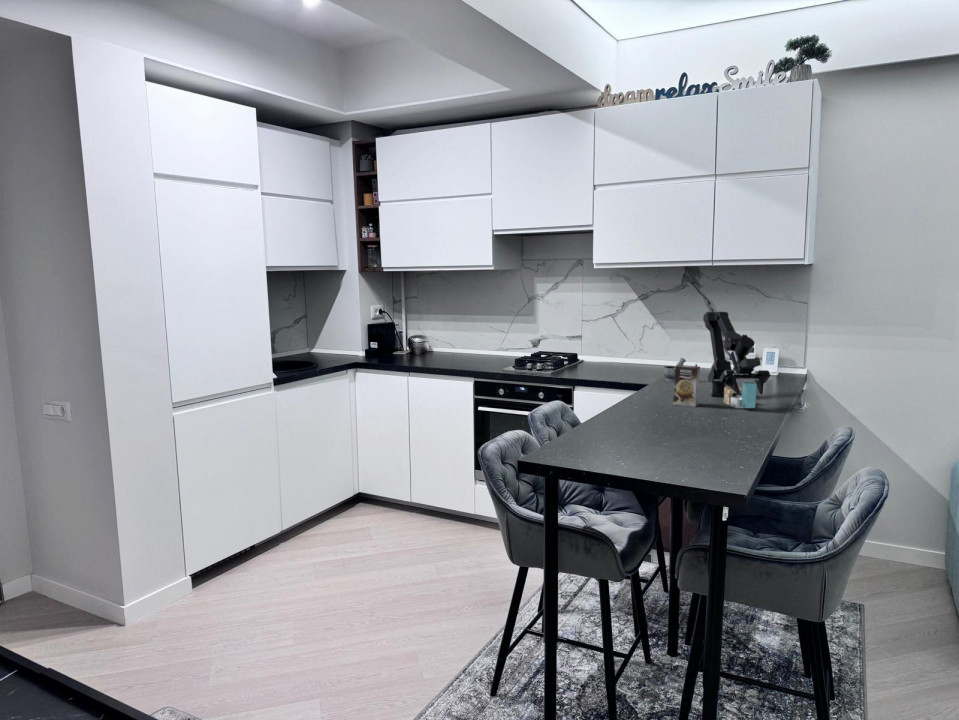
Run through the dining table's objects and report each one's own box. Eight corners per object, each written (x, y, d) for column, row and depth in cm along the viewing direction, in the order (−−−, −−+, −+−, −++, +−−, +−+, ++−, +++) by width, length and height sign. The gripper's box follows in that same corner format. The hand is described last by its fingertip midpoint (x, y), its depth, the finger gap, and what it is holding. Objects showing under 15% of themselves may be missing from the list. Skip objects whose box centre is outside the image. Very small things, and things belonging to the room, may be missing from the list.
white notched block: (730, 405, 276) (731, 397, 275) (745, 405, 276) (746, 397, 276) (736, 408, 270) (737, 399, 269) (752, 408, 270) (752, 400, 270)
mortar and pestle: (659, 381, 333) (660, 357, 331) (664, 378, 341) (665, 355, 340) (682, 383, 328) (684, 359, 326) (686, 380, 336) (687, 357, 334)
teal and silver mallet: (730, 400, 279) (732, 377, 277) (739, 400, 279) (741, 377, 277) (745, 407, 265) (746, 383, 263) (755, 407, 265) (756, 383, 264)
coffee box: (672, 404, 276) (674, 366, 273) (675, 402, 281) (677, 364, 279) (695, 407, 271) (697, 367, 269) (698, 404, 277) (700, 365, 275)
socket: (723, 402, 282) (724, 386, 281) (740, 402, 282) (741, 386, 281) (728, 404, 277) (729, 389, 276) (745, 404, 277) (746, 389, 276)
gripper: (724, 350, 267) (734, 382, 258) (770, 350, 268) (781, 382, 259) (715, 366, 276) (724, 398, 267) (759, 367, 277) (770, 398, 267)
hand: (750, 393), depth 265 cm, fingers open, 9 cm apart
